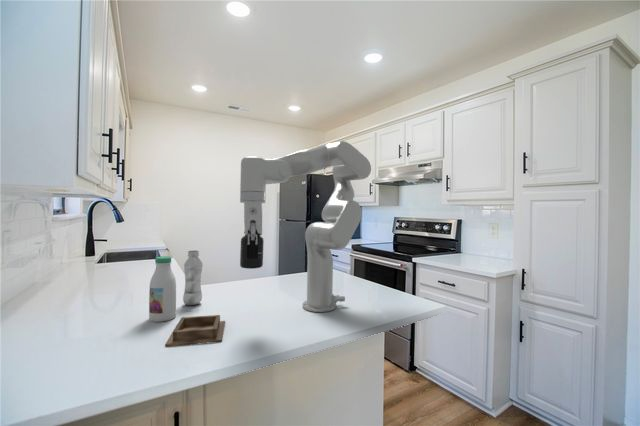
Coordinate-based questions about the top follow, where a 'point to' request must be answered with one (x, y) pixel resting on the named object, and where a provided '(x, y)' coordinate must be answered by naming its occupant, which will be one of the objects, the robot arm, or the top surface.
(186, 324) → the walnut stand
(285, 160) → the robot arm
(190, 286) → the plastic bottle
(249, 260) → the supplement bottle
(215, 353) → the top surface
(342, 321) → the top surface
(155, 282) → the milk bottle
